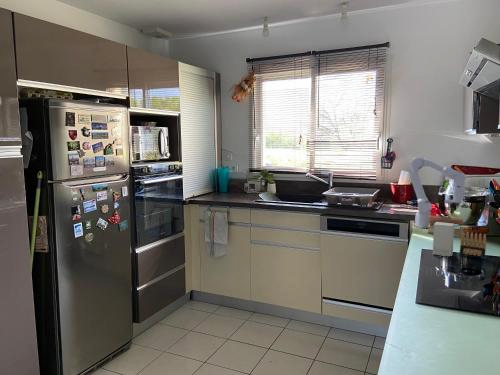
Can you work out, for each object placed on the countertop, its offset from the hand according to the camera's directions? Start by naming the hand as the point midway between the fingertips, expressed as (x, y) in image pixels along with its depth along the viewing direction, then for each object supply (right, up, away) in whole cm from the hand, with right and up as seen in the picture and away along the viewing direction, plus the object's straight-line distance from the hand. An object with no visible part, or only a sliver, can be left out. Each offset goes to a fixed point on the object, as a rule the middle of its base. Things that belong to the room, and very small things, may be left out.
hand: (457, 215), depth 238 cm
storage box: (-9, -10, -4) cm, 14 cm away
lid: (-9, -3, -4) cm, 10 cm away
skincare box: (-32, -16, -48) cm, 60 cm away
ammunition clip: (-19, -16, -50) cm, 56 cm away
